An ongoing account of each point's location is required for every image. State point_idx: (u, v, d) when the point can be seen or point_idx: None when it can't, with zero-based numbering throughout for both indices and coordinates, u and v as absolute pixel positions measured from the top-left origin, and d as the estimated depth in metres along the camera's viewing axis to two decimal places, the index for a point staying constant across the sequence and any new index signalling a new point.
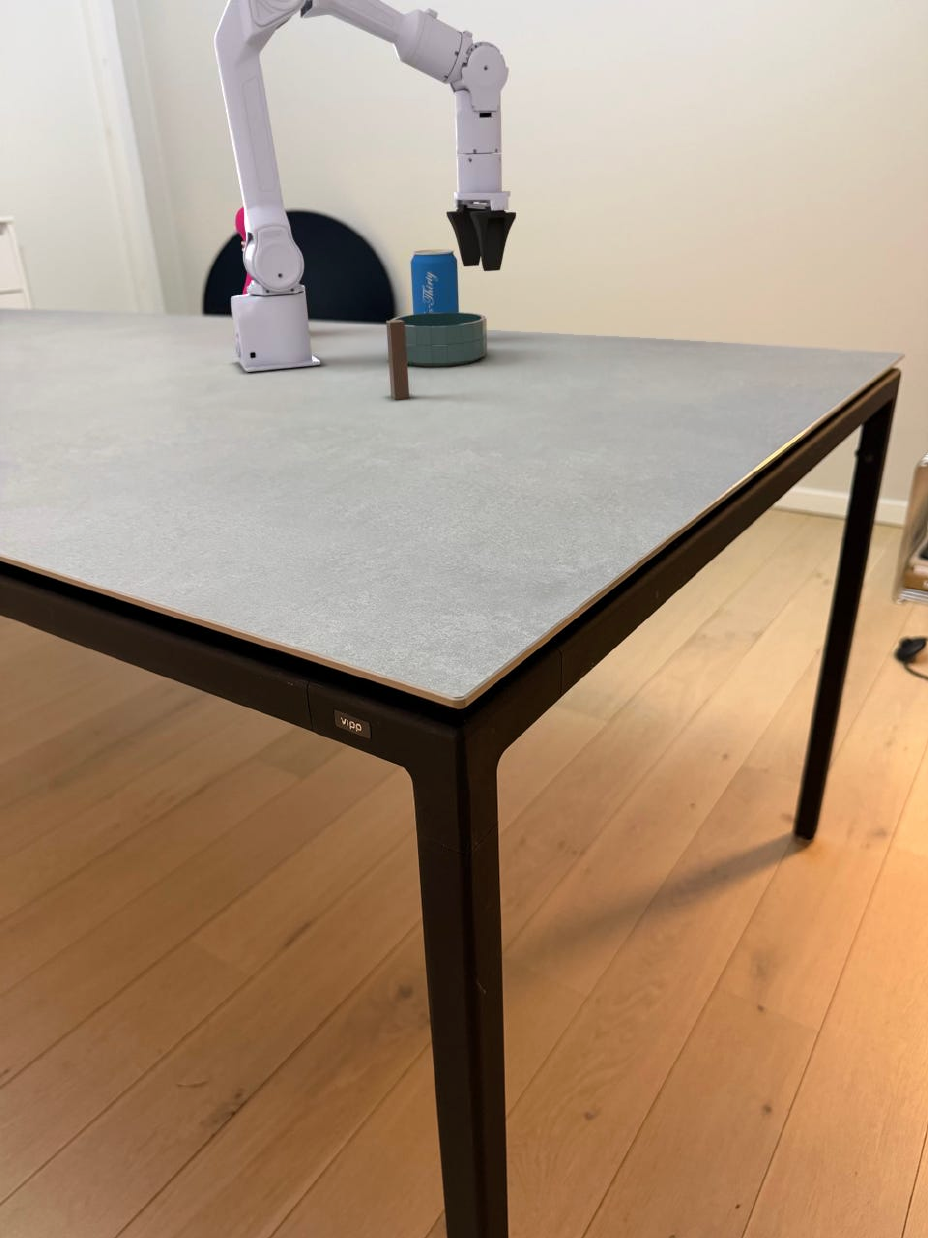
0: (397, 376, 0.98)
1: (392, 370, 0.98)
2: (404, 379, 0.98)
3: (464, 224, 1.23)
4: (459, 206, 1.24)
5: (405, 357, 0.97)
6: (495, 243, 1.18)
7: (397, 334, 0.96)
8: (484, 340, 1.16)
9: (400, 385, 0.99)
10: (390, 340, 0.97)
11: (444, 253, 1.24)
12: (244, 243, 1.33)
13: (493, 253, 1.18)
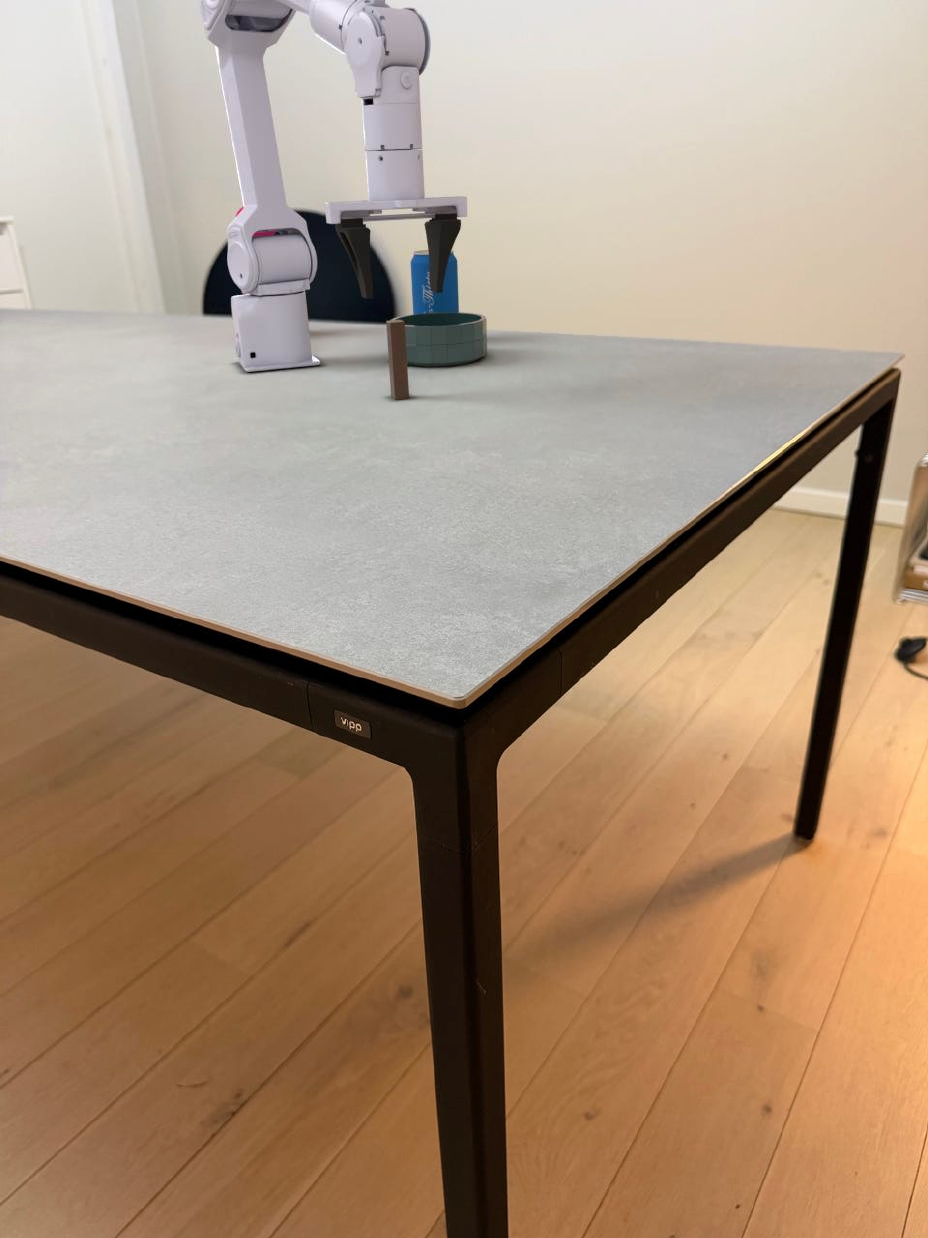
0: (397, 376, 0.98)
1: (392, 370, 0.98)
2: (404, 379, 0.98)
3: (430, 238, 0.97)
4: None
5: (405, 357, 0.97)
6: None
7: (397, 334, 0.96)
8: (484, 340, 1.16)
9: (400, 385, 0.99)
10: (390, 340, 0.97)
11: None
12: None
13: (361, 276, 0.95)
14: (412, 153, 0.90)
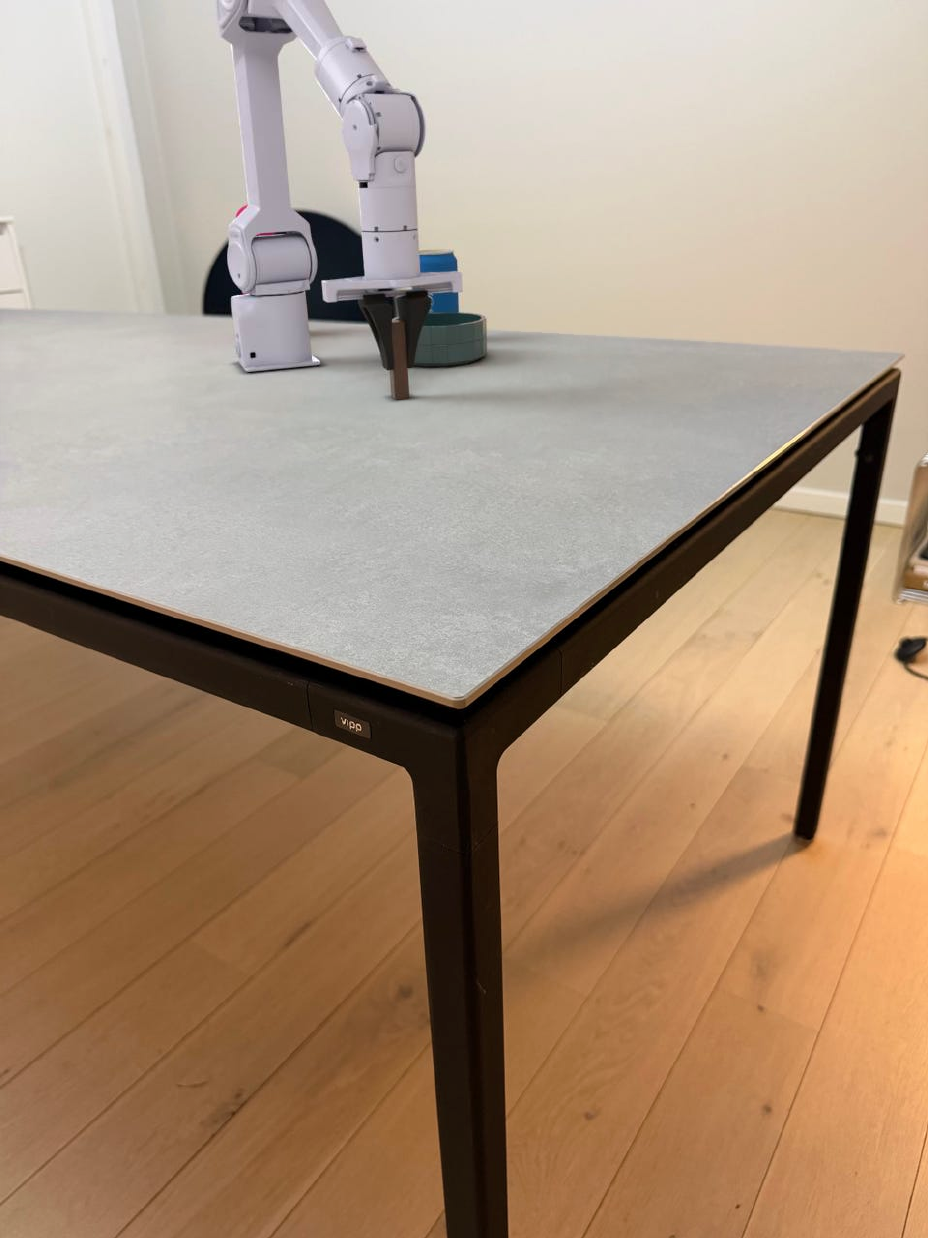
0: (397, 376, 0.98)
1: (392, 370, 0.98)
2: (404, 379, 0.98)
3: (401, 314, 0.97)
4: None
5: (405, 357, 0.98)
6: None
7: (397, 334, 0.96)
8: (484, 340, 1.16)
9: (400, 385, 0.99)
10: None
11: (444, 253, 1.24)
12: None
13: (383, 349, 0.97)
14: (407, 234, 0.91)
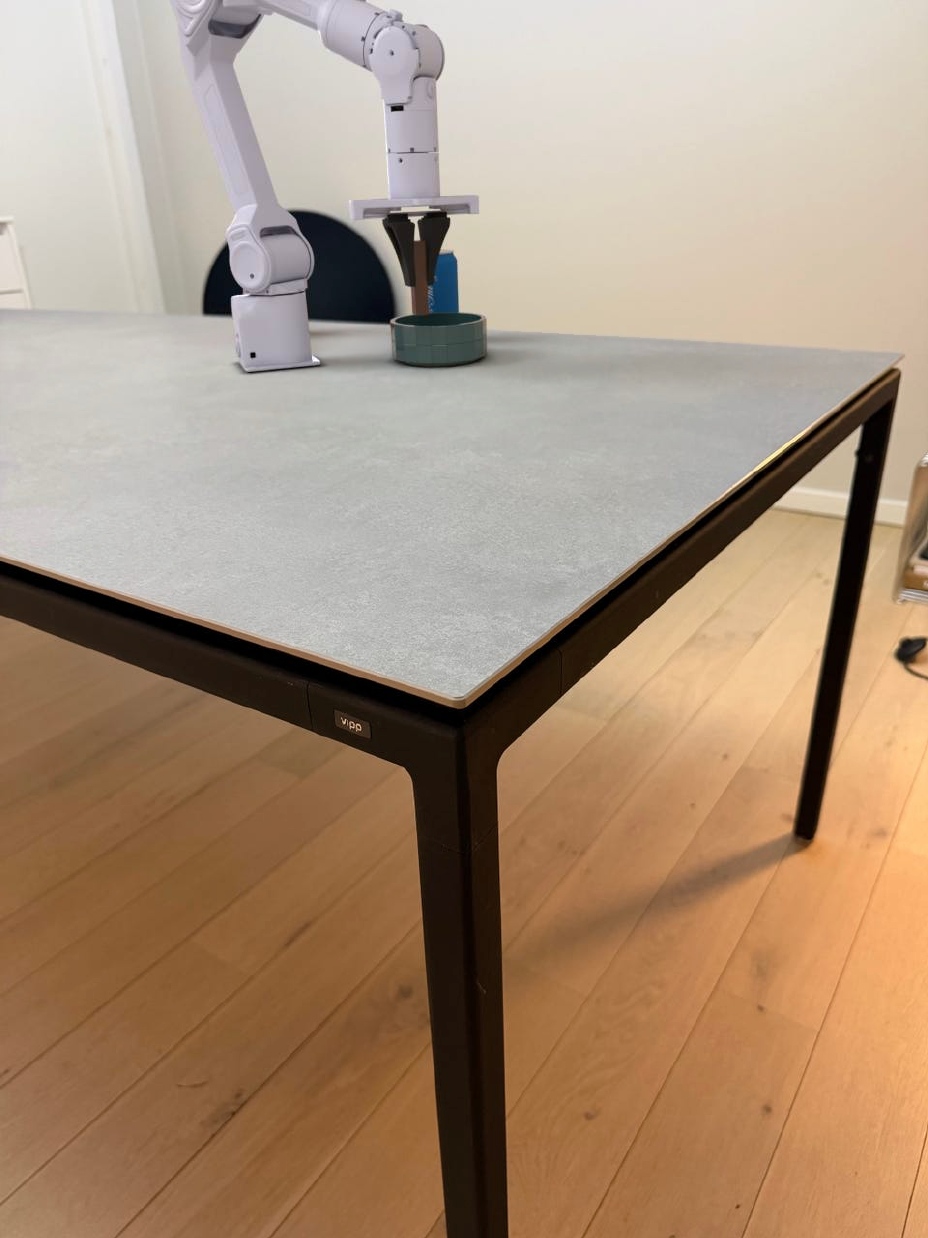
0: (418, 293, 1.06)
1: (413, 287, 1.06)
2: (424, 296, 1.06)
3: (422, 235, 1.05)
4: None
5: (426, 275, 1.05)
6: None
7: (418, 252, 1.04)
8: (484, 340, 1.16)
9: (421, 301, 1.06)
10: None
11: (444, 253, 1.24)
12: None
13: (405, 266, 1.05)
14: (429, 155, 0.98)
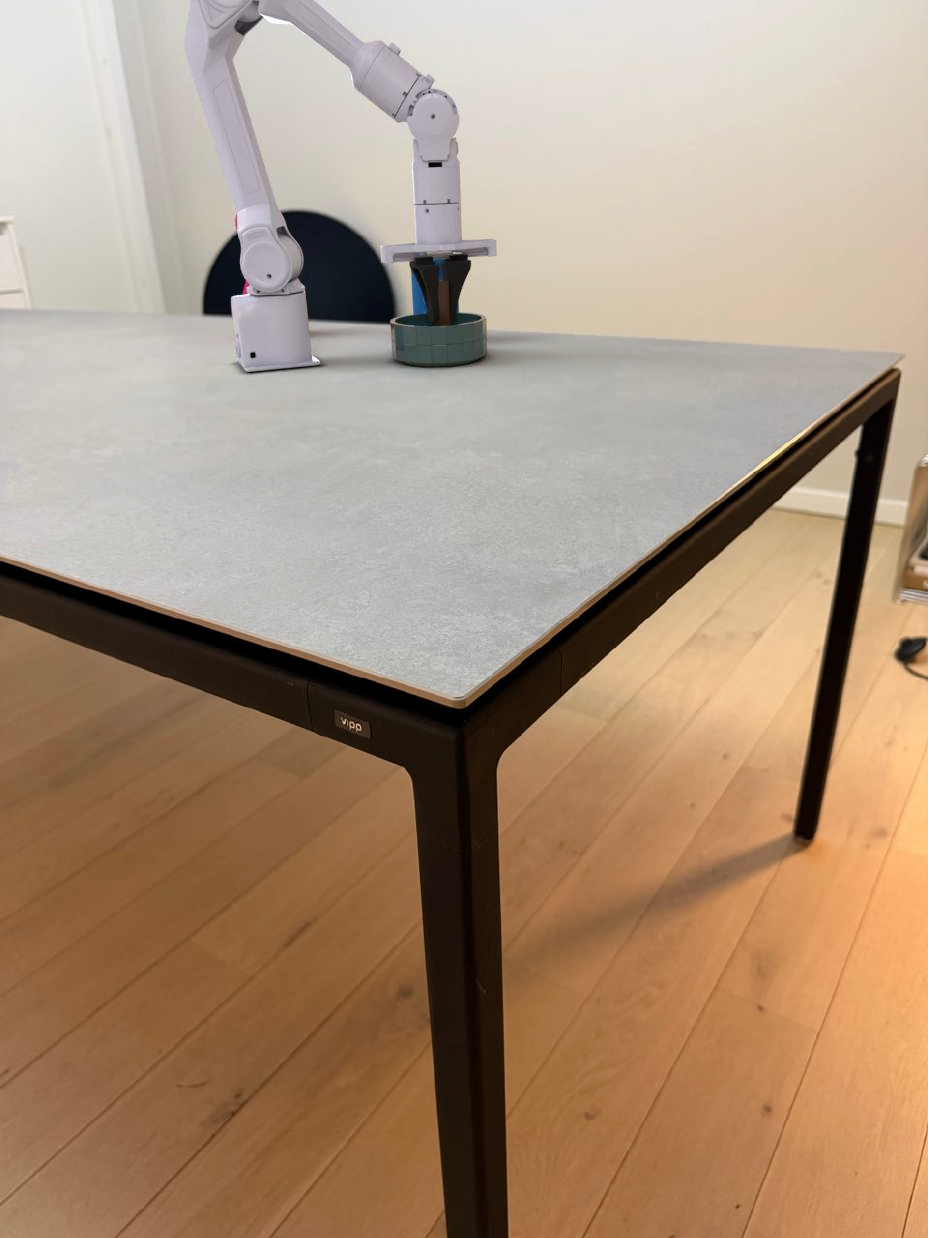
0: None
1: (437, 322, 1.17)
2: None
3: (445, 275, 1.16)
4: None
5: (448, 311, 1.16)
6: None
7: (442, 291, 1.15)
8: (484, 340, 1.16)
9: None
10: None
11: (444, 253, 1.24)
12: None
13: (430, 304, 1.16)
14: (453, 206, 1.09)
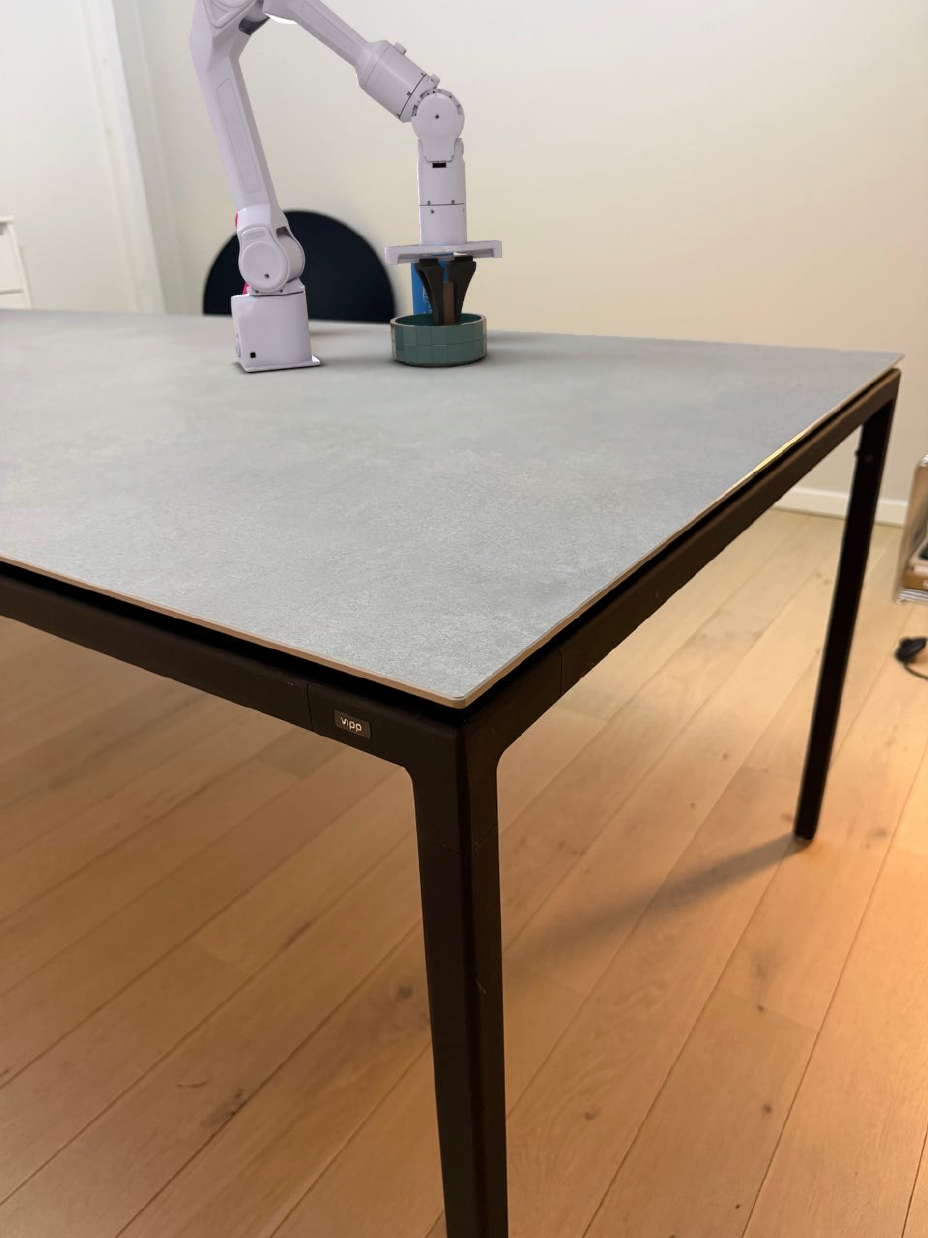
0: None
1: (442, 324, 1.16)
2: None
3: (450, 276, 1.15)
4: None
5: (453, 313, 1.15)
6: None
7: (447, 292, 1.14)
8: (484, 340, 1.16)
9: None
10: None
11: (444, 253, 1.24)
12: None
13: (434, 305, 1.15)
14: (458, 207, 1.09)
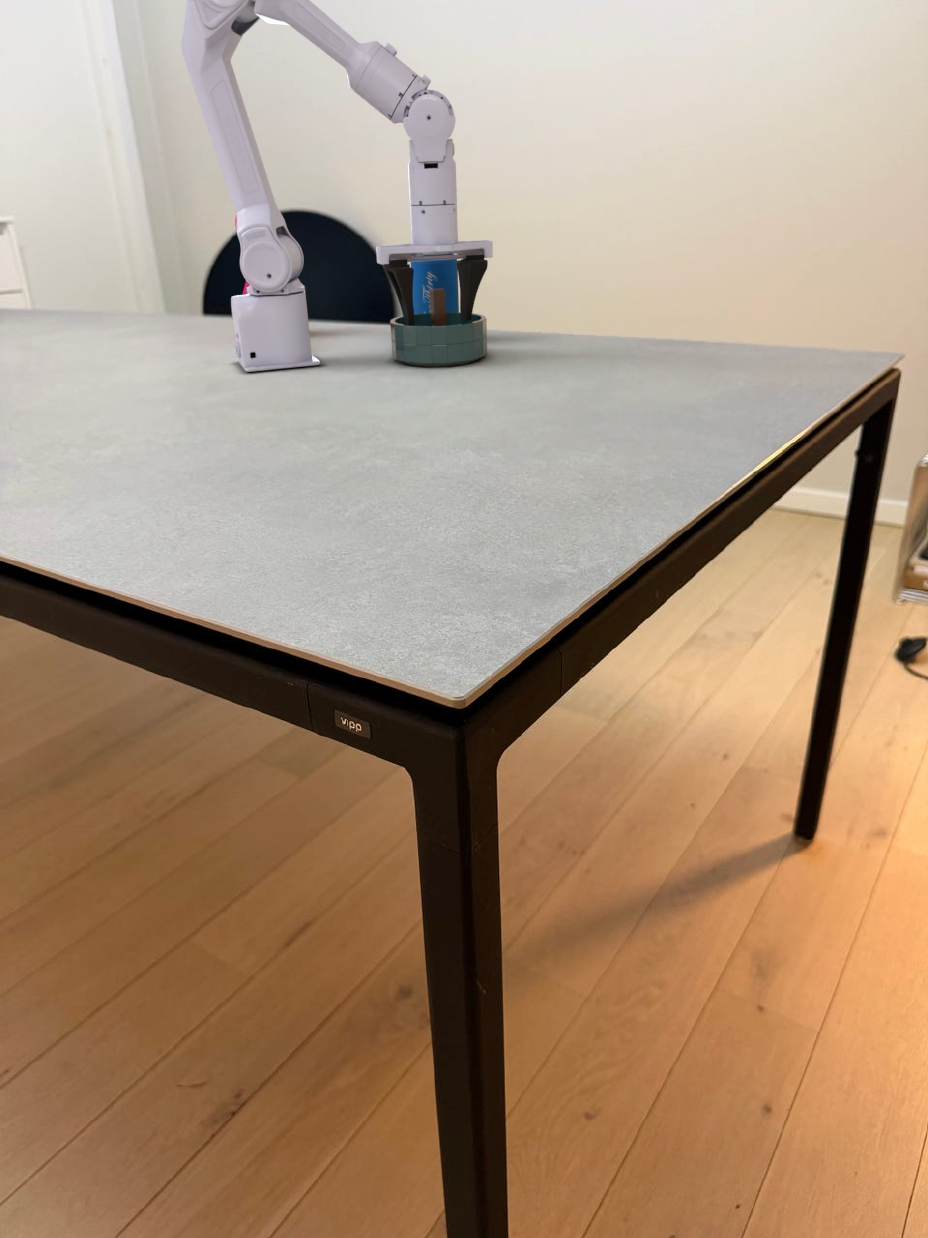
0: None
1: None
2: None
3: (461, 275, 1.17)
4: None
5: (445, 319, 1.17)
6: None
7: (438, 300, 1.15)
8: (484, 340, 1.16)
9: None
10: (433, 305, 1.16)
11: (444, 253, 1.24)
12: None
13: (404, 306, 1.15)
14: (449, 207, 1.09)
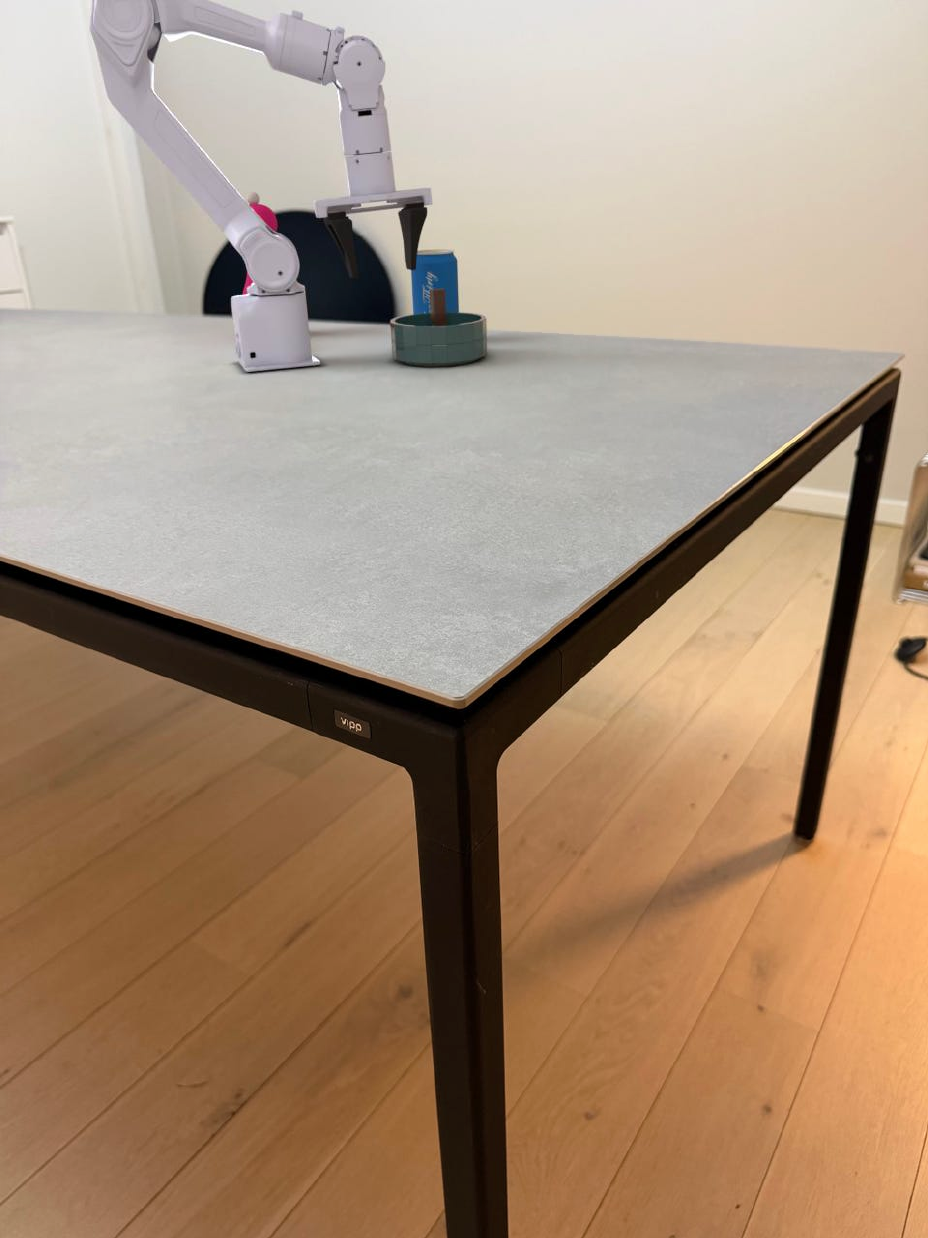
0: None
1: None
2: None
3: (403, 224, 1.16)
4: None
5: (445, 319, 1.17)
6: None
7: (438, 300, 1.15)
8: (484, 340, 1.16)
9: None
10: (433, 305, 1.16)
11: (444, 253, 1.24)
12: None
13: (347, 260, 1.15)
14: (382, 155, 1.09)
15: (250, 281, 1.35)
